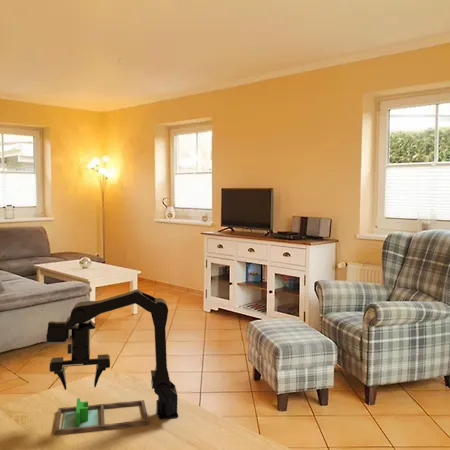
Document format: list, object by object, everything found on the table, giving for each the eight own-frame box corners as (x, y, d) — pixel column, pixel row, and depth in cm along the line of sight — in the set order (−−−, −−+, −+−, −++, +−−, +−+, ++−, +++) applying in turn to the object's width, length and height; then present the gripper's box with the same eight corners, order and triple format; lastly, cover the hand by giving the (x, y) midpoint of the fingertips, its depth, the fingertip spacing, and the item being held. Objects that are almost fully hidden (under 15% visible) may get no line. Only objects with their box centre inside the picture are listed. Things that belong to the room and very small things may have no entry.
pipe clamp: (88, 425, 155) (88, 412, 154) (75, 427, 154) (75, 413, 153) (88, 410, 165) (88, 397, 165) (76, 411, 164) (76, 398, 164)
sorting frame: (143, 403, 172) (143, 400, 172) (148, 424, 157) (148, 421, 157) (58, 411, 164) (58, 408, 164) (54, 434, 149) (54, 430, 149)
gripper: (109, 332, 167) (108, 376, 168) (52, 335, 162) (52, 380, 163) (110, 343, 156) (109, 389, 157) (49, 346, 151) (49, 394, 152)
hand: (80, 388), depth 158 cm, fingers open, 9 cm apart
